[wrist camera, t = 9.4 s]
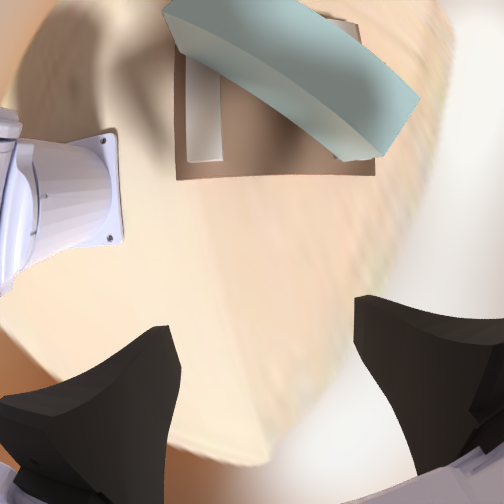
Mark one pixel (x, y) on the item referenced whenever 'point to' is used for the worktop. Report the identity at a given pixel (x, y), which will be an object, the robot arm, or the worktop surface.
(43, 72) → the worktop surface
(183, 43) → the glasses case
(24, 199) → the robot arm
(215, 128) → the display stand
